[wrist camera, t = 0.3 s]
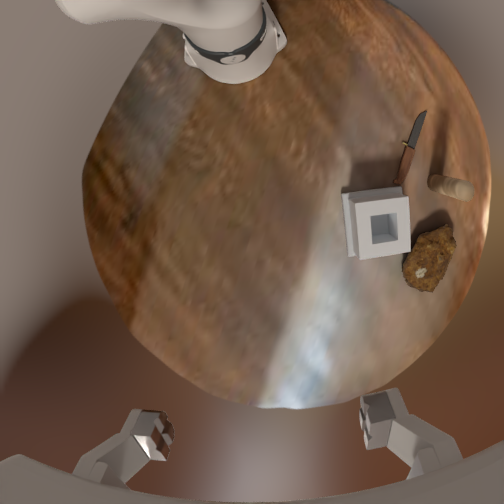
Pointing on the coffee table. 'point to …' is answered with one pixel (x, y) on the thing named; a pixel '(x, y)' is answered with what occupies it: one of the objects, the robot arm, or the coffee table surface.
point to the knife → (409, 149)
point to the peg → (451, 187)
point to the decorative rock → (429, 259)
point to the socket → (376, 222)
